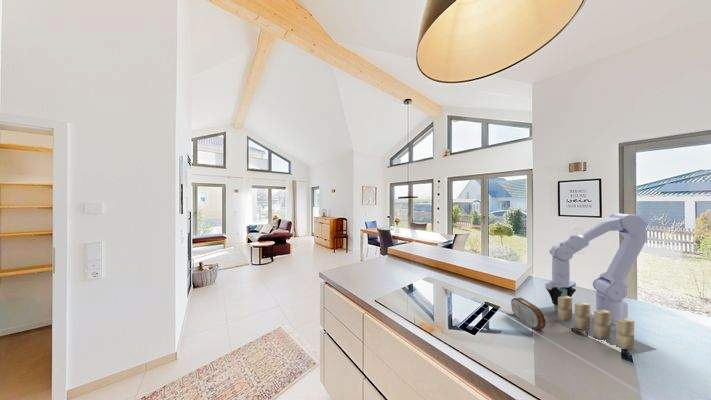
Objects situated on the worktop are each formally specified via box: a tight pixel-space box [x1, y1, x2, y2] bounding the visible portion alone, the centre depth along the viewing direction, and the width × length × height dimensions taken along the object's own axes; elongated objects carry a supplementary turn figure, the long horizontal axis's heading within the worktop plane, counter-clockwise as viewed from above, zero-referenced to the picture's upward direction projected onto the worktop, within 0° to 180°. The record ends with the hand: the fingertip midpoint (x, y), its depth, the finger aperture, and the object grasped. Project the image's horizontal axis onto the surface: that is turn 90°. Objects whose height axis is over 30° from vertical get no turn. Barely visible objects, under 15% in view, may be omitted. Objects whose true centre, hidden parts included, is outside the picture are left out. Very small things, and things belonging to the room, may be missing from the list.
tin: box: [510, 296, 547, 330], centre depth 92 cm, size 15×3×8 cm, turn 2°
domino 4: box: [593, 310, 612, 339], centre depth 82 cm, size 5×2×9 cm, turn 103°
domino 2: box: [558, 296, 573, 321], centre depth 94 cm, size 5×2×9 cm, turn 102°
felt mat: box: [538, 305, 658, 356], centre depth 89 cm, size 14×31×1 cm, turn 13°
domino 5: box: [615, 318, 635, 349], centre depth 76 cm, size 5×2×9 cm, turn 102°
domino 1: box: [553, 288, 567, 311], centre depth 101 cm, size 5×2×9 cm, turn 103°
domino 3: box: [574, 302, 591, 329], centre depth 88 cm, size 5×2×9 cm, turn 102°
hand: (560, 303), depth 101 cm, fingers closed on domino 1, 5 cm apart
